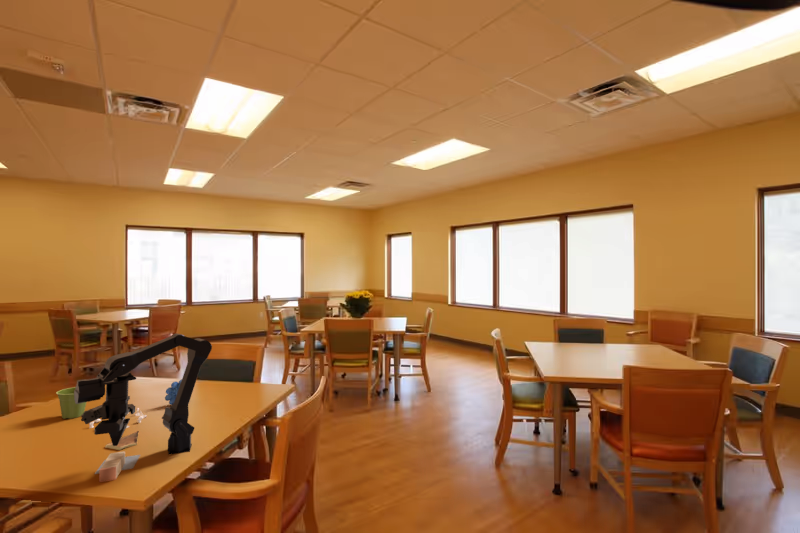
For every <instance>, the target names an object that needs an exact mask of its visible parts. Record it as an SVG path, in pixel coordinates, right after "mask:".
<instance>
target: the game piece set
mask: <svg viewBox="0 0 800 533" xmlns="http://www.w3.org/2000/svg"><path fill="white" fill-rule="evenodd" d="M139 410H140V408H139V407H137V408H136V413H134V416H135V417H138V418H137V420H136V422H137V423H139V424H140V423H142V420H143V419H144V418H147V416H148V415H147V414H143V412H142V410H140V411H139ZM129 414H130V412H129V413H128V414H127V415H129ZM101 421H102V420H101V418H99V419H97V420H94V421H92V422H90V423H89V424H88V425H89V427H88V429H92V428H93V429H94V428H95V426H94V423H99V422H101ZM127 428H130V425H127V427H126V429H127ZM94 432H95V429H94Z"/></svg>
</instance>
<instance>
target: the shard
mask: <svg viewBox="0 0 800 533" xmlns="http://www.w3.org/2000/svg"><path fill="white" fill-rule="evenodd" d="M139 431H140V430H137V431H136V432H135V431H134V432H133V433H130V434H128V435H125V436H122V437H121V439H120V441H119V444H118V445H117V446H113V444H112V441H110V442H108V443H107V444H106V445H105V446H104V448H105V449H111V450H117V451H122V450H123V449H127V448H130V447H134V446H138V443H139V442H138V439H139Z"/></svg>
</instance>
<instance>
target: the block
mask: <svg viewBox="0 0 800 533" xmlns="http://www.w3.org/2000/svg"><path fill="white" fill-rule="evenodd" d="M125 457H126V451H118V452H110V453H109V455H108V456H107V458H106V459H105V460H106V461H105V462H104V461H103V462H104V464H103V465H102V464H101V465H102V467H101V469H100V470H99V476H98V477H99V478H98V480H99V481H98V482H99V483H102V482H108V481H116V480H117V478H118V477H119V474H121V471H123V470H122V468H123V466H124V464H125Z"/></svg>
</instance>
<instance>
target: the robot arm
mask: <svg viewBox="0 0 800 533" xmlns="http://www.w3.org/2000/svg"><path fill="white" fill-rule="evenodd" d="M177 347H182V348H186V349H187V352H186V353H187V364H186V366H185V369H184V373H183V375H182V377H181V378H182V381H181V384H180V387H179V390H178V393H177V396H176V399H175V401H174V403H173V404H172V405H170V406H166V407H165V409H164V413H163V415H162V417H161V419H162V424H163V426H164V427H165V429H168V431H169V432H171V433H170V434H169V437H168V440H167V452H168V455H176V454H183V453H189V452H190V451H191V449H192V444H193V443H192V434H193V433H194V431H195V426H193V425H192V424H190V423H188V422H189V415H190V414H189V412H190V411H189V404H190V401H191V398H192V394H193V392H194V389H195V385H196V383H197V379H198V376H199V374H200V371H201V367H202V365H203V364H204V363H205V362H206V360H208V358H209V355H210V353H211V352H212V349H213V345H212V343H211V342H210V341H208V340H207V339H203V338H199V337H198V338H191V337H188V336H185V334H181V333H174V334H172V335H170V336H168V337H165V338H164V339H161V340H159V341H156V342H154V343H151V344H149V345H146V346H144V347H142V348H139V349H137V350H133V351H127V352H122V353H118V354H115V355H112V356H110V357H108V359H106V362H105V364H104V367H103V368H102V369H101V371H100V372H99V373H98V374H97V375H96V377H95V378H94V377H93V378H88V379H77V380H76V384H75V387H76V388H75V390H74V399H75V403H76V404H79V403H84V402H86V403H89V402H95V401H99V400H101V399H102V398H104V396H105V401H104V402H103V403H102V404H100V405H97V406H95V407H93V408H89V409H88V410H85V411H84V413H83V414H82V415H81V416H80V417H81V419H80V420H81V422H83V423H84V424H85V425H89V423H90V422H93V421H94V420H97V419H101V421H99V422H98V424H97V425H96V426H94V430H95V431H94V432H93V434H94V435H96V436H97V435H103V434H108V435H109V438H110V440H111V441H110V442H112V444H113V446H117V445H118V444H119V441H120V439H121V438H122V437H123V435H124V433H125V432H126V429H127V428H126V427H127V426H129V422H130V421H131V418H127V417H126V416H127V415H129V414H130V415H135V412H136V405H134V404H133V403H129V401H130V400H131V395H129V381H135V380H137V377H136V376H134V375H133V374H132V373H131V371H133V370H135V369H136V368H137V367H139V366H140V365H141V364H142V363H144V362H146V361H148V360H150V359H153V358H155V357H157V356H160V355H161V354H164V353H166V352H168V351H170V350H173V349H175V348H177ZM128 413H129V414H128ZM94 422H95V421H94Z"/></svg>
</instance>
